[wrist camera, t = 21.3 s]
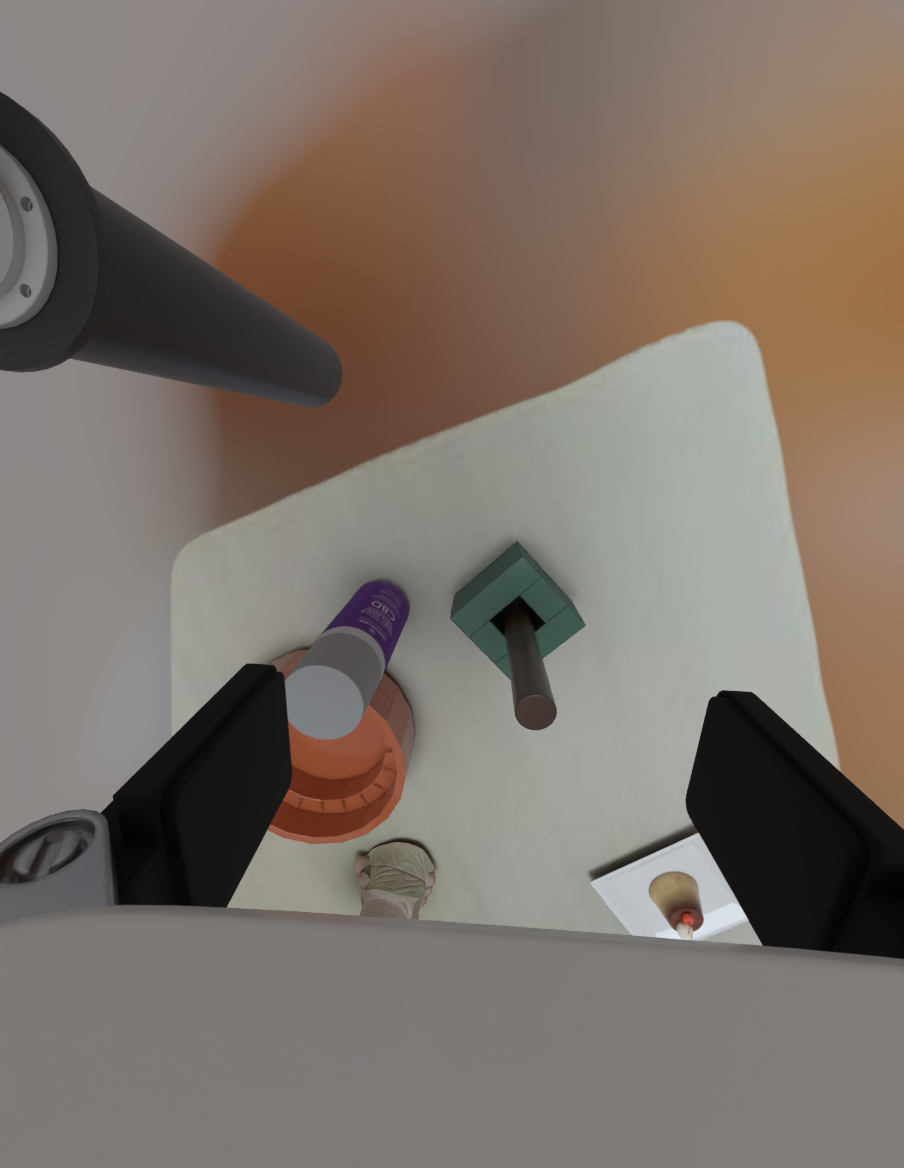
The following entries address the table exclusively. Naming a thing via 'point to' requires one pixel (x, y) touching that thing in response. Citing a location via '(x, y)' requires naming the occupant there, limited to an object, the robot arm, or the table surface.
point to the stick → (527, 669)
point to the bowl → (346, 770)
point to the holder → (497, 589)
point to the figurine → (394, 880)
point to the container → (347, 662)
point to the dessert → (672, 894)
